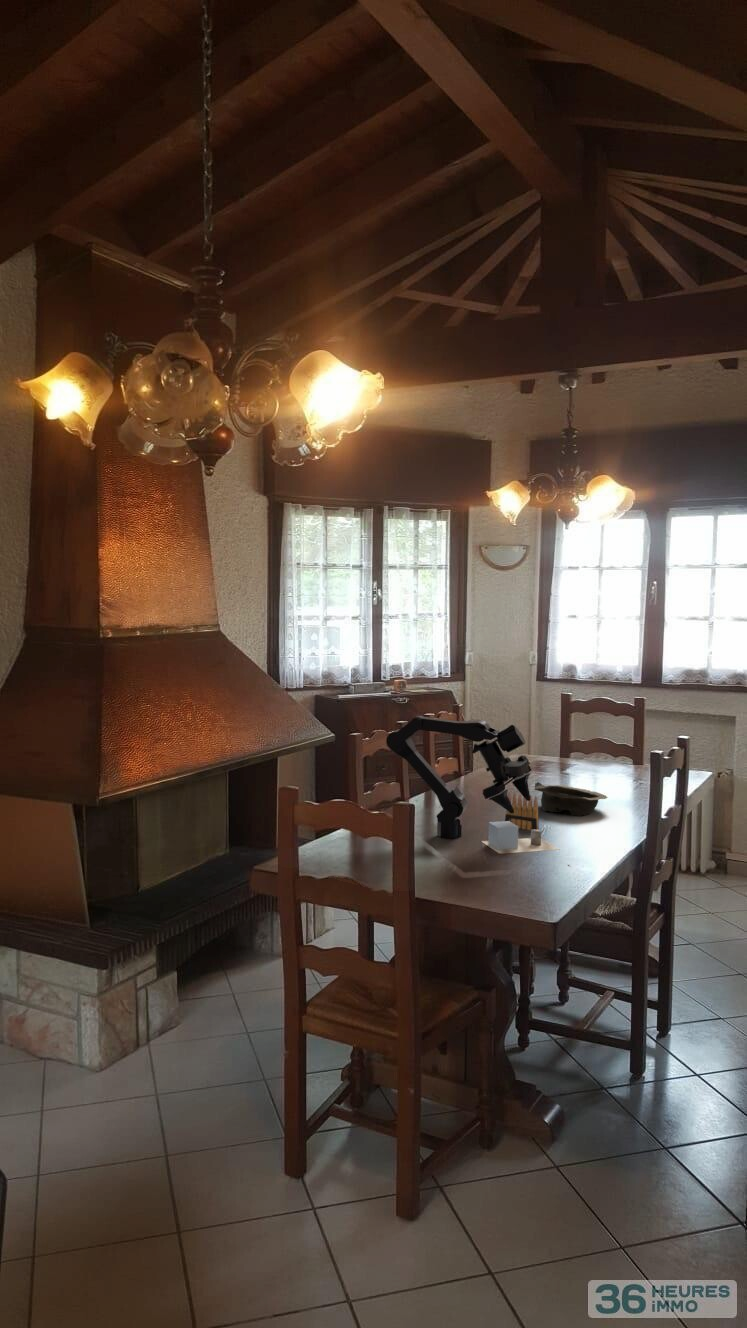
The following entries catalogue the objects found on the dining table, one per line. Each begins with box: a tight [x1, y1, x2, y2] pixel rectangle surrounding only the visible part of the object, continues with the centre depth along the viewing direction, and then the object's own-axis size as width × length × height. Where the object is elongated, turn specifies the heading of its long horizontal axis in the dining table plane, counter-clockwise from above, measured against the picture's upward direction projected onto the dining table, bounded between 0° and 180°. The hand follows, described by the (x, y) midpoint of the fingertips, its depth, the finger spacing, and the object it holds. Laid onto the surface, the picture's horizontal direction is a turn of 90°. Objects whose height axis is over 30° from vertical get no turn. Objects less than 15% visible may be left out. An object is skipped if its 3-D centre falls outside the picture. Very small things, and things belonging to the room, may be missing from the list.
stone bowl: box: [533, 781, 609, 817], centre depth 312 cm, size 25×25×9 cm
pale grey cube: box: [487, 820, 519, 850], centre depth 261 cm, size 6×6×6 cm
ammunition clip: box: [504, 792, 540, 831], centre depth 283 cm, size 11×2×12 cm, turn 60°
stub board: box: [481, 829, 561, 855], centre depth 263 cm, size 19×13×5 cm
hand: (521, 806), depth 265 cm, fingers open, 9 cm apart
